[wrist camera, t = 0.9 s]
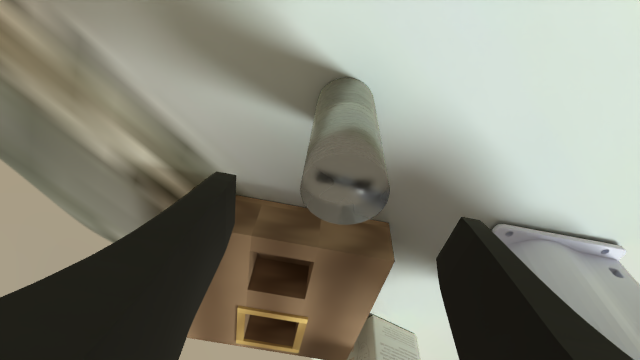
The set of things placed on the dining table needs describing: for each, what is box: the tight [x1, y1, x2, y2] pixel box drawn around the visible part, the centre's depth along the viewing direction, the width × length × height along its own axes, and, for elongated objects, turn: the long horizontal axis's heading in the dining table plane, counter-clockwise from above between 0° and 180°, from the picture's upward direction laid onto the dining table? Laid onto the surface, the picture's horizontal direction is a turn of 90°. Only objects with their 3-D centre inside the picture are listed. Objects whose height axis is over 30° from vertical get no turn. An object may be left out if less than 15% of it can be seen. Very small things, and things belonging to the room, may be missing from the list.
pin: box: [300, 78, 390, 225], centre depth 15 cm, size 3×3×8 cm
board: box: [187, 187, 395, 360], centre depth 25 cm, size 14×14×4 cm
